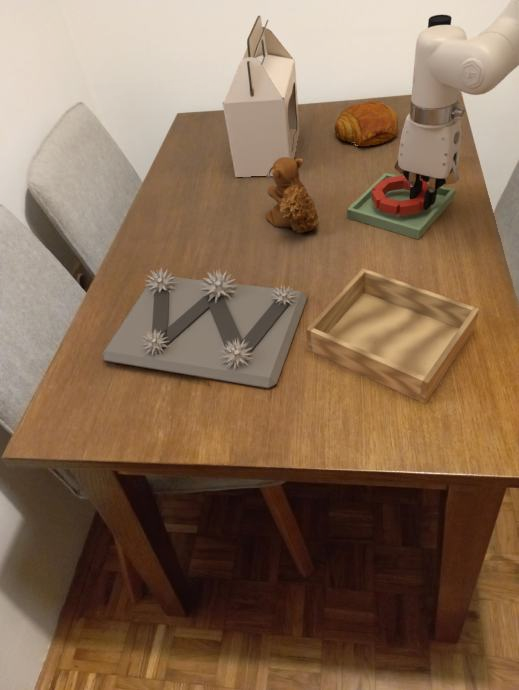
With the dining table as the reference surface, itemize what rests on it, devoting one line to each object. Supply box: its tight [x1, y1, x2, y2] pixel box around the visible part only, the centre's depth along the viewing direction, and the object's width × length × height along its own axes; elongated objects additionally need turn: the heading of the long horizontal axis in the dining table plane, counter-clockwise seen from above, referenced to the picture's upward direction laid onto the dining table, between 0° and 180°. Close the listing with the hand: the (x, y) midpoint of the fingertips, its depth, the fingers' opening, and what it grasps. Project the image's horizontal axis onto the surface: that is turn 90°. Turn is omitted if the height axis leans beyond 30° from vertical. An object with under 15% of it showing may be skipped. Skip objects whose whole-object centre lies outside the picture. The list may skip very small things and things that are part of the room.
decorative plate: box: [101, 267, 308, 389], centre depth 87 cm, size 30×22×7 cm
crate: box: [305, 267, 480, 404], centre depth 80 cm, size 20×17×5 cm
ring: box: [371, 174, 429, 216], centre depth 104 cm, size 11×11×2 cm
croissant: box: [334, 100, 399, 147], centre depth 127 cm, size 14×16×8 cm
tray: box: [346, 172, 457, 240], centre depth 106 cm, size 16×16×2 cm
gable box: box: [222, 15, 301, 178], centre depth 119 cm, size 22×13×28 cm, turn 172°
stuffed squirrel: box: [264, 157, 320, 234], centre depth 103 cm, size 10×14×13 cm
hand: (421, 203), depth 103 cm, fingers closed on ring, 2 cm apart
